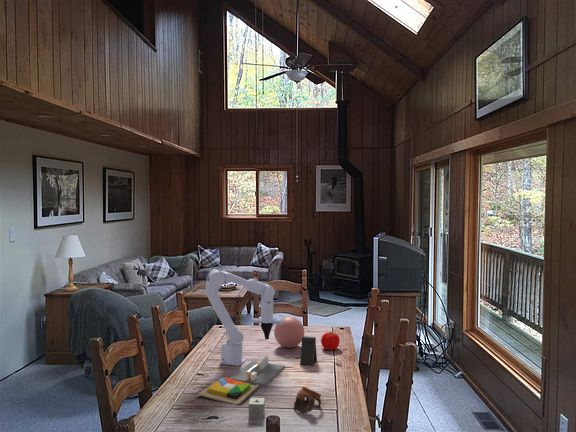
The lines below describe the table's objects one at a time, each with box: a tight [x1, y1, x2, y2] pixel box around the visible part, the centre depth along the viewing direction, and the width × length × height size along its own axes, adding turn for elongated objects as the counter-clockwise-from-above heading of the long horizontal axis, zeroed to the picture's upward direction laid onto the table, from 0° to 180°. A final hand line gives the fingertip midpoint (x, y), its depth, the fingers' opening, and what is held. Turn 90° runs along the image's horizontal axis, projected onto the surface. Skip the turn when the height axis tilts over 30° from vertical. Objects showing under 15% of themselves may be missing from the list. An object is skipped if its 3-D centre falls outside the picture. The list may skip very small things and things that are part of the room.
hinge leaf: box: [247, 364, 259, 380], centre depth 190 cm, size 11×1×3 cm, turn 159°
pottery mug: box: [293, 386, 322, 414], centre depth 161 cm, size 12×10×8 cm
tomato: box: [320, 331, 341, 351], centre depth 228 cm, size 9×10×8 cm
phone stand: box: [299, 335, 318, 367], centre depth 208 cm, size 9×6×12 cm, turn 164°
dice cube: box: [248, 397, 266, 419], centre depth 156 cm, size 5×5×5 cm
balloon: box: [273, 316, 305, 349], centre depth 232 cm, size 15×20×15 cm
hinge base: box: [229, 355, 285, 387], centre depth 194 cm, size 16×22×4 cm
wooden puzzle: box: [196, 376, 259, 405], centre depth 175 cm, size 18×19×4 cm
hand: (267, 338), depth 213 cm, fingers closed
